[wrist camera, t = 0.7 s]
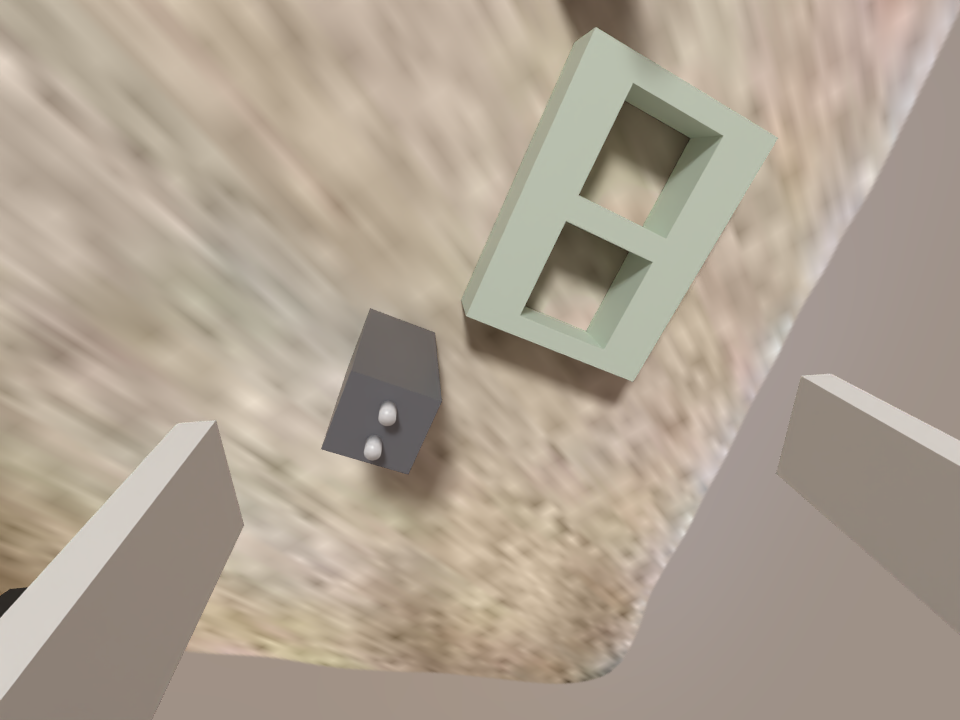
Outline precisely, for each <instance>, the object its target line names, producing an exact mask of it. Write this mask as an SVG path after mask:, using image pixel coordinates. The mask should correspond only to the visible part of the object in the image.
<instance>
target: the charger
mask: <svg viewBox="0 0 960 720" xmlns="http://www.w3.org/2000/svg"><path fill="white" fill-rule="evenodd" d="M441 402H442V398H441V388H440V379H439V369H438V359H437V350H436V340H435V333H434V332H432V331H429V330H426V329H424V328H421V327H418V326H416V325H413V324H410V323H408V322H405V321H402V320H400V319H397V318H394V317H392V316H389V315H386V314H384V313H381V312H378V311H376V310H373V309H371V308H370V310H369V313H368V316H367V318H366V321H365V324H364V326H363V329H362V332H361V334H360V337H359V340H358V342H357V345H356V348H355V350H354V353H353V355H352V358H351V361H350V363H349V366H348V369H347V372H346V375H345V378H344V381H343V384H342V387H341V390H340V393H339V396H338V399H337V402H336V405H335V409H334V412H333V415H332V418H331V421H330V424H329V427H328V430H327V433H326V436H325V439H324V442H323V445H322V448H321V449H322V450H326V451H329V452H333V453H336V454H340V455H343V456H346V457H350V458H353V459H357V460H360V461H364V462H367V463H370V464H374V465H377V466H381V467H384V468H388V469H391V470H394V471H398V472H401V473H405V474H409V472H410V469H411V467H412V465H413V463H414V461H415V459H416V456H417V454H418V452H419V450H420V448H421V446H422V443H423V441H424V439H425V437H426V435H427V432H428V430H429V428H430V426H431V424H432V422H433V419H434V417H435V415H436V413H437V411H438V408H439V406H440V404H441Z"/></svg>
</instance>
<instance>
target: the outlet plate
mask: <svg viewBox="0 0 960 720" xmlns="http://www.w3.org/2000/svg"><path fill="white" fill-rule="evenodd" d="M624 101H626V102H628V103H630V104H632V105H633V106H635V107H637V108H639V109H640V110H642V111H644V112H646V113H647V114H649V115H651V116H653V117H654V118H656V119H658V120H660V121H661V122H663V123H665V124H667V125H668V126H670V127H672V128H674V129H675V130H677V131H679V132H680V133H682V134H684V135H686V136H687V137H689V138H690V140H689V142H688V144H687V146H686V147H685V149H684V151H683V153H682V155H681V157H680V159H679V160H678V162H677V164H676V166H675V168H674V170H673V171H672V173H671V175H670V177H669V179H668V181H667V183H666V184H665V186H664V188H663V190H662V192H661V194H660V196H659V197H658V199H657V201H656V203H655V205H654V207H653V209H652V210H651V212H650V214H649V216H648V218H647V220H646V222H645V223H644V225H643V227H642V226H640V225H638V224H636V223H634V222H632V221H630V220H628V219H626V218H624V217H622V216H620V215H618V214H616V213H614V212H612V211H610V210H608V209H605V208H603V207H601V206H599V205H597V204H595V203H593V202H591V201H589V200H587V199H585V198H583V197H581V196H579V193H580V191H581V189H582V187H583V185H584V183H585V181H586V179H587V177H588V175H589V173H590V171H591V169H592V167H593V164H594V162H595V160H596V158H597V156H598V154H599V152H600V150H601V148H602V146H603V144H604V142H605V140H606V138H607V136H608V134H609V132H610V129H611V127H612V125H613V123H614V121H615V119H616V117H617V115H618V113H619V111H620V109H621V107H622V105H623V103H624ZM777 139H778V138H777V137H776V136H774V135H772V134H771V133H769V132H768V131H766V130H764V129H763V128H761V127H759V126H758V125H756V124H754V123H753V122H751V121H749V120H748V119H746V118H745V117H743V116H741V115H740V114H738V113H736V112H735V111H733V110H731V109H730V108H728V107H726V106H725V105H723V104H722V103H720V102H718V101H717V100H715V99H713V98H712V97H710V96H708V95H707V94H705V93H703V92H702V91H700V90H699V89H697V88H695V87H694V86H692V85H690V84H689V83H687V82H685V81H684V80H682V79H680V78H679V77H677V76H676V75H674V74H672V73H671V72H669V71H667V70H666V69H664V68H662V67H661V66H659V65H657V64H656V63H654V62H652V61H651V60H649V59H648V58H646V57H644V56H643V55H641V54H639V53H638V52H636V51H634V50H633V49H631V48H629V47H628V46H626V45H625V44H623V43H621V42H620V41H618V40H616V39H615V38H613V37H611V36H610V35H608V34H606V33H605V32H603V31H602V30H600V29H598V28H597V27H595V28H594V29H592V30H591V31H589V32H588V33H587V34H585V35H584V36H583V37H581V38H580V39H578V40H577V41H576V42H574V45H573V47H572V49H571V51H570V54H569V56H568V58H567V61H566V63H565V65H564V67H563V70H562V72H561V74H560V76H559V79H558V81H557V83H556V86H555V88H554V90H553V92H552V95H551V97H550V99H549V102H548V104H547V106H546V108H545V111H544V113H543V115H542V117H541V120H540V122H539V124H538V127H537V129H536V131H535V133H534V136H533V138H532V140H531V142H530V145H529V147H528V149H527V152H526V154H525V156H524V158H523V161H522V163H521V165H520V168H519V170H518V172H517V174H516V177H515V179H514V181H513V183H512V186H511V188H510V190H509V193H508V195H507V197H506V199H505V202H504V204H503V206H502V208H501V211H500V213H499V215H498V218H497V220H496V222H495V224H494V227H493V229H492V231H491V234H490V236H489V238H488V240H487V243H486V245H485V247H484V249H483V252H482V254H481V256H480V259H479V261H478V263H477V265H476V268H475V270H474V272H473V274H472V277H471V279H470V281H469V284H468V286H467V288H466V290H465V293H464V295H463V297H462V299H461V301H462V305H463V308H464V311H465V314H466V316H467V317H470V318H472V319H475V320H477V321H480V322H482V323H485V324H487V325H490V326H492V327H495V328H497V329H500V330H503V331H505V332H508V333H510V334H513V335H515V336H518V337H520V338H523V339H525V340H528V341H531V342H533V343H536V344H538V345H541V346H543V347H546V348H548V349H551V350H553V351H556V352H558V353H561V354H564V355H566V356H569V357H571V358H574V359H576V360H579V361H581V362H584V363H586V364H589V365H591V366H594V367H597V368H599V369H602V370H604V371H607V372H609V373H612V374H614V375H617V376H619V377H622V378H624V379H627V380H630V381H632V382H633V381H634V379H635V378H636V376H637V374H638V373H639V371H640V369H641V368H642V366H643V364H644V363H645V361H646V359H647V358H648V356H649V354H650V353H651V351H652V349H653V347H654V346H655V344H656V342H657V341H658V339H659V337H660V336H661V334H662V332H663V331H664V329H665V327H666V326H667V324H668V322H669V321H670V319H671V317H672V315H673V314H674V312H675V310H676V309H677V307H678V305H679V304H680V302H681V300H682V299H683V297H684V295H685V294H686V292H687V290H688V289H689V287H690V285H691V284H692V282H693V280H694V278H695V277H696V275H697V273H698V272H699V270H700V268H701V267H702V265H703V263H704V262H705V260H706V258H707V257H708V255H709V253H710V252H711V250H712V248H713V247H714V245H715V243H716V241H717V240H718V238H719V236H720V235H721V233H722V231H723V230H724V228H725V226H726V225H727V223H728V221H729V220H730V218H731V216H732V215H733V213H734V211H735V209H736V208H737V206H738V204H739V203H740V201H741V199H742V198H743V196H744V194H745V193H746V191H747V189H748V188H749V186H750V184H751V183H752V181H753V179H754V178H755V176H756V174H757V172H758V171H759V169H760V167H761V166H762V164H763V162H764V161H765V159H766V157H767V156H768V154H769V152H770V151H771V149H772V147H773V146H774V144H775V142H776V140H777ZM565 222H568V223H570V224H572V225H574V226H576V227H578V228H580V229H582V230H585V231H587V232H589V233H591V234H593V235H595V236H597V237H599V238H601V239H603V240H606V241H608V242H610V243H612V244H614V245H616V246H618V247H620V248H622V249H624V250H627V251H629V253H628V255H627V257H626V259H625V261H624V262H623V264H622V266H621V268H620V270H619V272H618V274H617V275H616V277H615V279H614V281H613V283H612V285H611V286H610V288H609V290H608V292H607V294H606V296H605V298H604V299H603V301H602V303H601V305H600V307H599V309H598V311H597V312H596V314H595V316H594V318H593V320H592V322H591V324H590V325H589V327H588V329H587V331H584V330H581V329H579V328H576V327H574V326H572V325H569V324H567V323H564V322H562V321H559V320H557V319H555V318H552V317H550V316H547V315H545V314H543V313H540V312H538V311H535V310H533V309H530V308H528V307H526V306H525V304H526V302H527V300H528V298H529V296H530V294H531V292H532V290H533V288H534V286H535V284H536V282H537V280H538V278H539V276H540V273H541V271H542V269H543V267H544V265H545V263H546V261H547V259H548V257H549V255H550V253H551V251H552V249H553V247H554V245H555V243H556V241H557V239H558V236H559V234H560V232H561V230H562V228H563V226H564V224H565Z"/></svg>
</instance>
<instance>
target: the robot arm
mask: <svg viewBox="0 0 960 720" xmlns="http://www.w3.org/2000/svg"><path fill="white" fill-rule="evenodd" d="M776 474H777V475H778V476H779V477H781V478H782V479H783V480H784V481H785V482H786V483H787V484H789V485H790V486H791V487H792V488H793V489H794V490H795V491H797V492H798V493H799V494H800V495H801V496H802V497H803V498H805V499H806V500H807V501H808V502H809V503H810V504H811V505H812V506H814V507H815V508H816V509H817V510H818V511H819V512H820V513H822V514H823V515H824V516H825V517H826V518H827V519H828V520H829V521H831V522H832V523H833V524H834V525H835V526H836V527H838V528H839V529H840V530H841V531H842V532H843V533H844V534H846V535H847V536H848V537H849V538H850V539H851V540H852V541H853V542H855V543H856V544H857V545H858V546H859V547H860V548H861V549H862V550H864V551H865V552H866V553H867V554H868V555H869V556H870V557H872V558H873V559H874V560H875V561H876V562H877V563H879V564H880V565H881V566H882V567H883V568H884V569H885V570H887V571H888V572H889V573H890V574H891V575H892V576H893V577H894V578H895V579H897V580H898V581H899V582H900V583H901V584H902V585H903V586H905V587H906V588H907V589H908V590H909V591H910V592H911V593H913V594H914V595H915V596H916V597H917V598H918V599H919V600H920V601H922V602H923V603H924V604H925V605H926V606H927V607H928V608H930V609H931V610H932V611H933V612H934V613H935V614H936V615H938V616H939V617H940V618H941V619H942V620H943V621H945V622H946V623H947V624H948V625H949V626H950V627H951V628H952V629H954V630H955V631H956V632H957V633H958V634H959V635H960V441H959V440H957V439H955V438H953V437H951V436H949V435H948V434H946V433H944V432H942V431H940V430H938V429H936V428H934V427H932V426H930V425H928V424H927V423H925V422H923V421H921V420H919V419H917V418H915V417H913V416H911V415H909V414H907V413H905V412H904V411H902V410H900V409H898V408H896V407H894V406H892V405H890V404H888V403H886V402H884V401H882V400H880V399H878V398H877V397H875V396H873V395H871V394H869V393H867V392H865V391H863V390H861V389H859V388H857V387H856V386H854V385H852V384H849V383H848V382H846V381H844V380H842V379H840V378H838V377H836V376H834V375H832V374H821V375H808V376H801V378H800V382H799V386H798V390H797V394H796V398H795V402H794V405H793V409H792V414H791V417H790V421H789V425H788V429H787V433H786V437H785V441H784V445H783V448H782V453H781V456H780V461H779V464H778V468H777V472H776ZM243 526H244V523H243V519H242V516H241V512H240V508H239V504H238V501H237V497H236V493H235V489H234V486H233V482H232V478H231V474H230V471H229V467H228V463H227V460H226V456H225V452H224V448H223V445H222V441H221V437H220V433H219V430H218V426H217V422H216V420H212V421H199V422H186V423H177V424H176V425H175V426H174V427H173V428H172V429H171V430H170V432H169V433H168V434H167V435H166V436H165V437H164V438H163V439H162V440H161V441H160V443H159V444H158V445H157V446H156V447H155V448H154V449H153V450H152V451H151V452H150V454H149V455H148V456H147V457H146V458H145V459H144V460H143V461H142V462H141V464H140V465H139V466H138V467H137V468H136V469H135V470H134V471H133V472H132V473H131V475H130V476H129V477H128V478H127V479H126V480H125V481H124V482H123V483H122V484H121V486H120V487H119V488H118V489H117V490H116V491H115V492H114V493H113V494H112V495H111V497H110V498H109V499H108V500H107V501H106V502H105V503H104V504H103V505H102V506H101V508H100V509H99V510H98V511H97V512H96V513H95V514H94V515H93V516H92V517H91V519H90V520H89V521H88V522H87V523H86V524H85V525H84V526H83V527H82V529H81V530H80V531H79V532H78V533H77V534H76V535H75V536H74V537H73V538H72V540H71V541H70V542H69V543H68V544H67V545H66V546H65V547H64V548H63V549H62V551H61V552H60V553H59V554H58V555H57V556H56V557H55V558H54V559H53V560H52V562H51V563H50V564H49V565H48V566H47V567H46V568H45V569H44V570H43V571H42V573H41V574H40V575H39V576H38V577H37V578H36V579H35V580H34V581H33V582H32V584H31V585H30V586H29V587H26V588H16V589H10V590H8V591H7V592H5V593H4V594H2V595H1V596H0V720H152V718H153V716H154V714H155V712H156V710H157V708H158V706H159V704H160V702H161V700H162V697H163V695H164V693H165V691H166V689H167V687H168V685H169V683H170V680H171V678H172V676H173V674H174V672H175V670H176V668H177V666H178V664H179V661H180V659H181V657H182V655H183V653H184V651H185V649H186V647H187V645H188V642H189V640H190V638H191V636H192V634H193V632H194V630H195V628H196V626H197V623H198V621H199V619H200V617H201V615H202V613H203V611H204V609H205V607H206V604H207V602H208V600H209V598H210V596H211V594H212V592H213V590H214V587H215V585H216V583H217V581H218V579H219V577H220V575H221V573H222V571H223V568H224V566H225V564H226V562H227V560H228V558H229V556H230V554H231V552H232V549H233V547H234V545H235V543H236V541H237V539H238V537H239V535H240V533H241V530H242V528H243Z"/></svg>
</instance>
